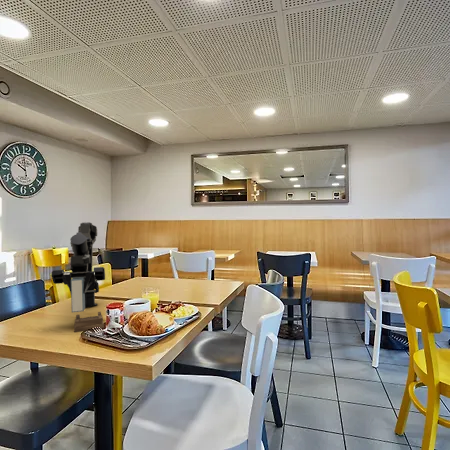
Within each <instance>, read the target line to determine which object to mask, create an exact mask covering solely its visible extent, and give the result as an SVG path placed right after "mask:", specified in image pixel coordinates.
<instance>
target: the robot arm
mask: <svg viewBox="0 0 450 450" xmlns="http://www.w3.org/2000/svg"><path fill="white" fill-rule="evenodd" d="M97 237H98V228H97V226H96V225H94V224H93V223H92V222H81V223H80V224H79V226H78V229H77V232H76V234H74V235H72V237H70V243H69V244H70V247H71V249H72V252H73V255H71V256H70V271H69V270H68V271H65V270H64V269H54V270H52V271H51V275H50V277H51V279H52V282H53V284H55V285H59V284H60V285H61V284H63V285H66V286H67V287H68V289H69V293H70V294H71V279H72V278H79V277H84V289H83V293H84V294H85V309H86V308H90V307H95V306H96V307H97V306H98V303H96V300H95V299H96V296H95V293H96V294H97V293H99V292H100V287H99V286H100V285H99V282H98V281H104V280H106V269H105V267H104V266H100V267H99V266H98V267H93V251H94V250H93V249H94V248H93V245H94V244H95V242H96V241H97Z"/></svg>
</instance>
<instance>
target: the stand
mask: <svg viewBox="0 0 450 450" xmlns="http://www.w3.org/2000/svg"><path fill="white" fill-rule="evenodd" d="M80 316H81V314H76V315H75V319H74V327H73V332H74V333H78V332H85V331H89V330H88V329H91V328H95V327H100V328H99V329H104V328H105V325H104V323H105V321H104V318H103V314H102V311H97V315H94V316H87V317H80Z"/></svg>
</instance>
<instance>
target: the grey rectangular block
mask: <svg viewBox="0 0 450 450" xmlns="http://www.w3.org/2000/svg"><path fill="white" fill-rule="evenodd" d="M83 289H84V277H79V278H72V279H71V293H70V296H71V297H70V298H71V300H70V301H71V313H79V312H84V311H85V309H86V308H85V294H84V293H83Z"/></svg>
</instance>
